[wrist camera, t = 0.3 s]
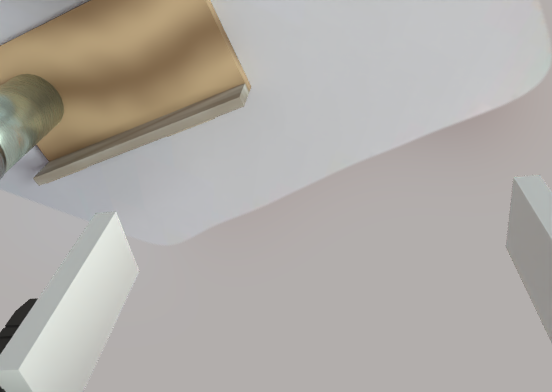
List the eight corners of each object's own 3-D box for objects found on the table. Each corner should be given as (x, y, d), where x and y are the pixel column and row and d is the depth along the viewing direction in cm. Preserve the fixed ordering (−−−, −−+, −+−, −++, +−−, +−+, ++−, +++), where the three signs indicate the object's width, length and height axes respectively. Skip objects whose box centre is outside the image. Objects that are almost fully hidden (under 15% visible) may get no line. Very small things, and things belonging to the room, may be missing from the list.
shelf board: (-19, 55, 42) (-50, 71, 39) (187, -49, 36) (171, -40, 33) (61, 164, 47) (40, 188, 44) (252, 89, 42) (245, 109, 38)
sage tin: (-9, 86, 42) (-93, 139, 34) (39, 63, 41) (-37, 112, 32) (30, 138, 45) (-40, 199, 36) (77, 118, 43) (15, 177, 35)
